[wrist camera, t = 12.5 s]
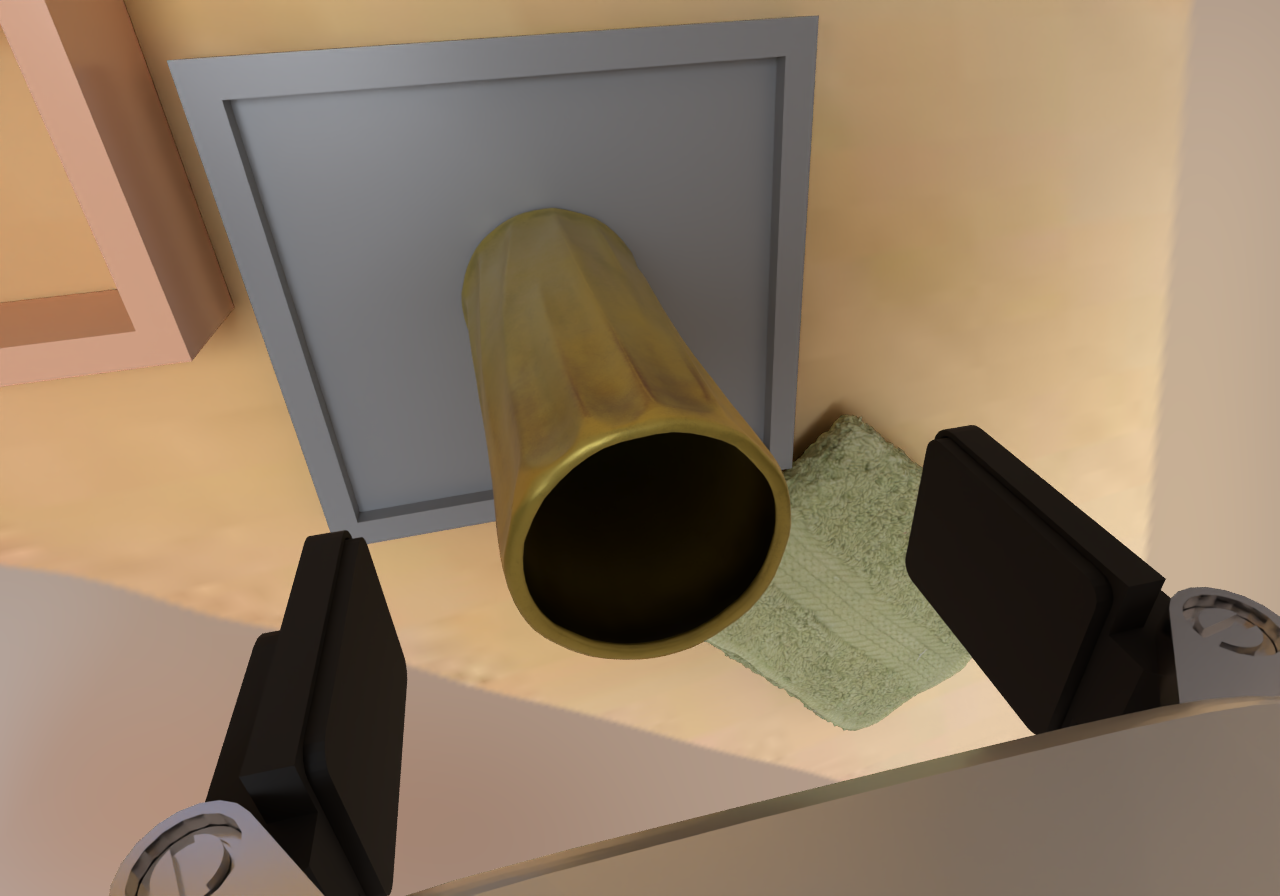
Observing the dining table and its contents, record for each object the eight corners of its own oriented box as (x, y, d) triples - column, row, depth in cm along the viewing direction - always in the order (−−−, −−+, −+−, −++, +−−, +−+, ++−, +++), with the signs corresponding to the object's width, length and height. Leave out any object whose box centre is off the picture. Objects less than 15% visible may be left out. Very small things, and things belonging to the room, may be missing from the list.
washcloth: (841, 717, 41) (869, 766, 39) (632, 581, 32) (649, 632, 30) (1026, 570, 39) (1070, 611, 36) (853, 377, 30) (894, 412, 27)
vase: (629, 192, 23) (822, 359, 11) (648, 363, 27) (815, 636, 14) (441, 223, 23) (433, 439, 10) (484, 396, 26) (515, 714, 14)
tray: (798, 16, 23) (818, 15, 21) (777, 450, 31) (791, 468, 30) (184, 58, 20) (167, 60, 18) (341, 526, 28) (336, 549, 27)
